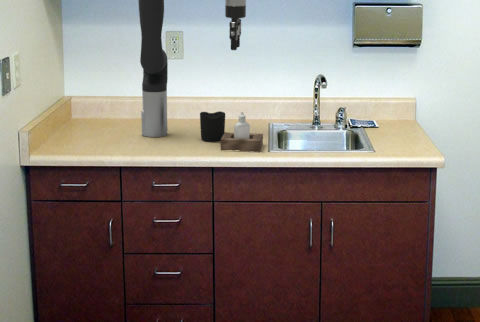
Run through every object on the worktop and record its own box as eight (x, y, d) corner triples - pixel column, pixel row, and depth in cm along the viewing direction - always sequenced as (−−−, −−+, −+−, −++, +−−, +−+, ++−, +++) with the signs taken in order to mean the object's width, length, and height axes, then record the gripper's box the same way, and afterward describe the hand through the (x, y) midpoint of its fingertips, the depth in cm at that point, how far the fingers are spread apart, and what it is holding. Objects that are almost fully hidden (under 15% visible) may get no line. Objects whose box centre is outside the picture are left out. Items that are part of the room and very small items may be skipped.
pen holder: (210, 135, 297) (209, 109, 294) (230, 138, 292) (230, 112, 289) (195, 140, 289) (194, 113, 286) (215, 143, 284) (215, 117, 281)
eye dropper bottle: (250, 146, 277) (250, 113, 274) (234, 146, 277) (234, 113, 273) (249, 143, 281) (249, 110, 278) (233, 143, 281) (233, 110, 278)
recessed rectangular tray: (220, 150, 275) (220, 139, 274) (224, 142, 285) (224, 132, 284) (259, 152, 273) (260, 141, 272) (262, 144, 284) (262, 133, 283)
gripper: (228, 2, 291) (227, 46, 295) (222, 5, 277) (222, 50, 282) (247, 3, 290) (247, 46, 295) (243, 5, 277) (243, 51, 281)
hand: (235, 48), depth 288 cm, fingers open, 8 cm apart
